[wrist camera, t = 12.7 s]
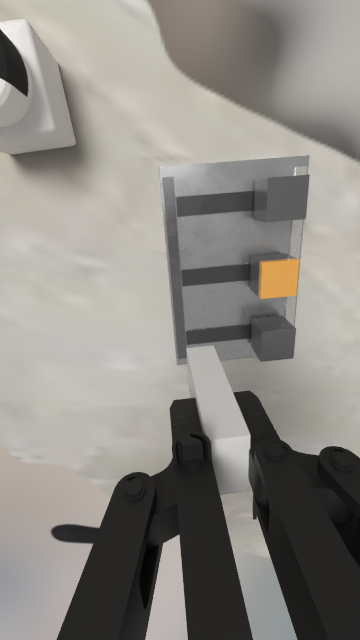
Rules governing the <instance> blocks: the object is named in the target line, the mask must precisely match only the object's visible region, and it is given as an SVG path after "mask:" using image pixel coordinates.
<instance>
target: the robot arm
mask: <svg viewBox="0 0 360 640" xmlns="http://www.w3.org/2000/svg"><path fill="white" fill-rule="evenodd" d="M186 351H187V364H188V378H189V390H190V395H191V398H189V399H181V400H174V401H173V403H172V405H171V407H170V417H171V430H172V442H173V444H172V453H173V458H172V461H171V463H170V464H169V466H168V467H167V468H166V469H164V470H163V471H161V472H160V473H158V474H155V475H153V476H151V477H150V476H149V475H148V474H145V473H142V472H135V473H131V474H129V475H126V476H125V477H123V478H122V479H121V480H120V481H119V482H118V484H117V485H116V487H115V489H114V492H113V494H112V497H111V500H110V502H109V505H108V508H107V510H106V513H105V515H104V518H103V520H102V523H101V526H100V528H99V531H98V533H97V536H96V539H95V541H94V544H93V546H92V549H91V552H90V554H89V557H88V560H87V562H86V565H85V567H84V570H83V572H82V575H81V578H80V580H79V583H78V585H77V588H76V591H75V594H74V596H73V598H72V601H71V604H70V606H69V609H68V612H67V614H66V617H65V620H64V622H63V624H62V627H61V630H60V632H59V635H58V638H57V640H145V637H146V632H147V627H148V621H149V616H150V611H151V605H152V600H153V594H154V589H155V584H156V578H157V573H158V567H159V562H160V557H161V552H162V546H163V543H164V542H166V541H168V540H169V539H172V538H174V537H175V536H177V535H179V534H180V546H181V558H182V571H183V583H184V596H185V608H186V620H187V631H188V640H253V638H252V633H251V629H250V625H249V620H248V616H247V612H246V608H245V603H244V598H243V594H242V590H241V586H240V581H239V577H238V572H237V569H236V563H235V559H234V555H233V551H232V546H231V542H230V537H229V533H228V528H227V524H226V520H225V515H224V511H223V507H222V502H221V498H220V494H228V493H235V492H243V491H249V482H250V485H251V487H252V490H253V520H254V519H256V517H258V520H259V523H260V526H261V529H262V532H263V535H264V538H265V541H266V544H267V547H268V550H269V554H270V557H271V560H272V563H273V566H274V569H275V572H276V575H277V578H278V581H279V584H280V587H281V590H282V593H283V596H284V599H285V602H286V606H287V609H288V612H289V615H290V618H291V621H292V624H293V627H294V630H295V633H296V636H297V639H298V640H360V458H359V457H358V456H357V455H355V454H354V453H352V452H351V451H349V450H347V449H344V448H342V447H336V446H331V447H326V448H324V449H323V450H321V452H320V455H319V456H318V455H311V454H304V453H300V452H297V451H294V450H292V449H291V447H290V446H289V445H288V444H287V443H285V442H283V441H282V440H280V438H279V436H278V435H277V433H276V431H275V429H274V427H273V425H272V423H271V421H270V419H269V417H268V416H267V414H266V412H265V410H264V408H263V407H262V404H261V402H260V400H259V399H258V397H257V396H256V395H254V394H253V393H252V392H251V391H243V392H234V393H233V391H232V389H231V387H230V384H229V382H228V379H227V377H226V375H225V372H224V370H223V367H222V365H221V362H220V360H219V358H218V355H217V353H216V350H215V348H214V345H212V346H203V347H193V348H186Z"/></svg>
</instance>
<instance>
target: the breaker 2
mask: <svg viewBox="0 0 360 640" xmlns="http://www.w3.org/2000/svg"><path fill="white" fill-rule="evenodd" d="M295 333H296V328H295V327H294V326H293V325H292V324H291V323H290V322H289V321H288V320H286V319H285V318H284V317H283V316H272V317H262V318H252V319H251V347H252V349H253V350H254V352H255V353H256V355H257V356H258V358H259V360H260V361H261V362H262V361H271V360H281V359H290V358H293V356H294V344H295Z"/></svg>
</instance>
